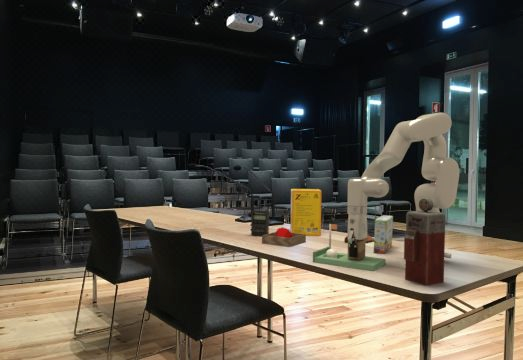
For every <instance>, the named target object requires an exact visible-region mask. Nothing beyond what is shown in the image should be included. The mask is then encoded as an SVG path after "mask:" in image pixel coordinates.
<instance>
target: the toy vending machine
mask: <svg viewBox="0 0 523 360" xmlns="http://www.w3.org/2000/svg"><path fill="white" fill-rule="evenodd" d="M419 208H420V209H421V210H422V211H416V210H413V211H412V210H411V211H408V212H406V215H405V217H406V219H405V223H406V224H405V233H404V237H403V238H404V239H403V240H404V241H403V260H405V264H404V265H405V267H404V280H406V281H410V282H412V283H416V284H419V285H423V286H431V285H432V286H433V285H437V284H442V283H444V280H445V278H444V277H445V257H444V253H445V252H446V250H445V247H446V246H445V245H446V214H445V213H444V212H432V211H430V210H431V209H432V208H433V202H432V200H431V199H429V198H424V199H421V200H420V201H419Z"/></svg>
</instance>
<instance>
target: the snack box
mask: <svg viewBox="0 0 523 360" xmlns="http://www.w3.org/2000/svg"><path fill="white" fill-rule="evenodd" d="M393 223H394V216H393V215H387V214H385V215H383V214H382V215H381V216H379V217H378V218H376V219H375V220H374V236H373V238H374V242H373V253H375V254H382V255H385V254H386V253H387V251H389V250H390V249H391V248H392V247H393Z"/></svg>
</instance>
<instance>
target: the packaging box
mask: <svg viewBox="0 0 523 360" xmlns="http://www.w3.org/2000/svg"><path fill="white" fill-rule="evenodd" d="M289 231H290V232H291V233H299V234H306V237H322V190H321V189H319V188H316V189H315V188H291V189H290V229H289Z"/></svg>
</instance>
